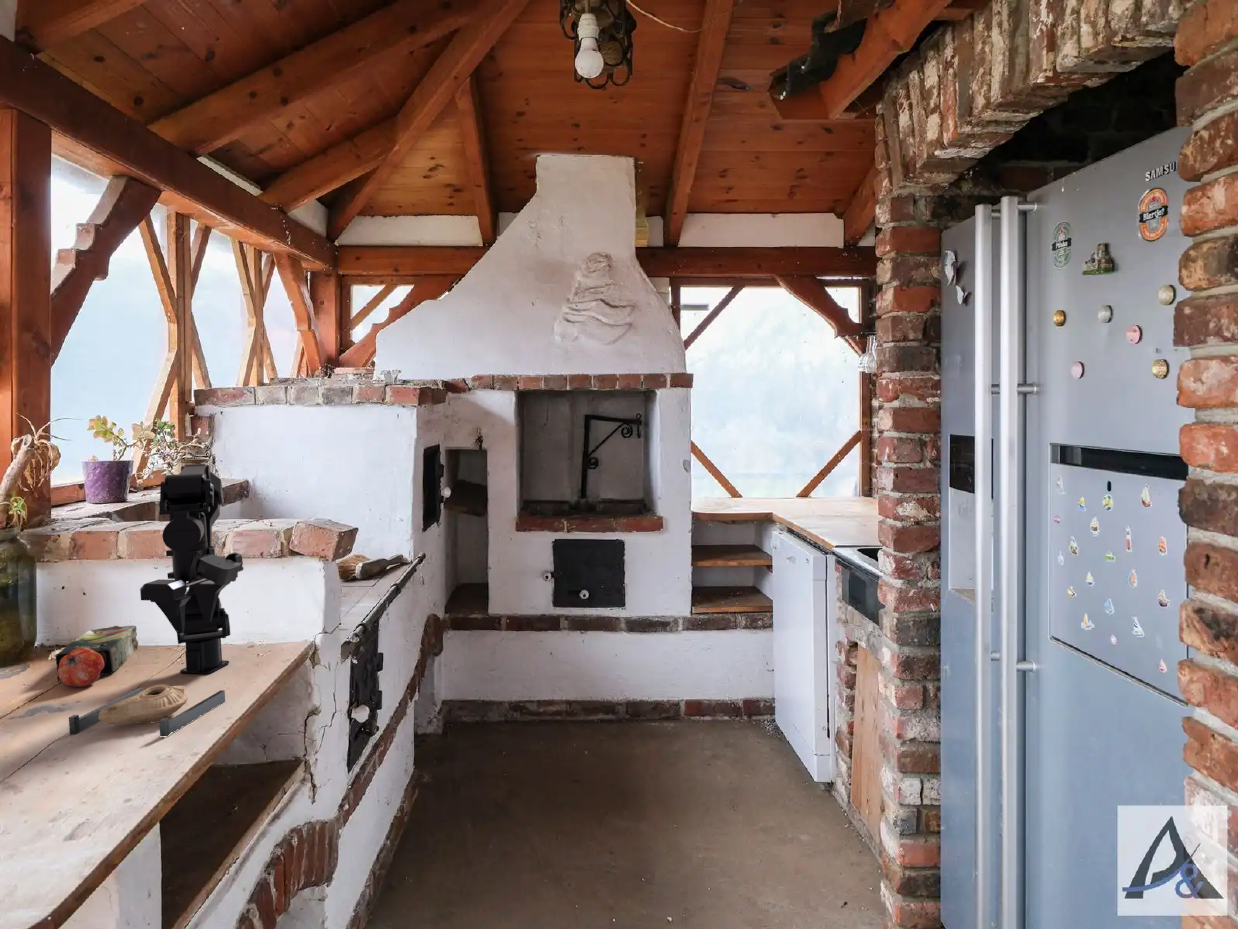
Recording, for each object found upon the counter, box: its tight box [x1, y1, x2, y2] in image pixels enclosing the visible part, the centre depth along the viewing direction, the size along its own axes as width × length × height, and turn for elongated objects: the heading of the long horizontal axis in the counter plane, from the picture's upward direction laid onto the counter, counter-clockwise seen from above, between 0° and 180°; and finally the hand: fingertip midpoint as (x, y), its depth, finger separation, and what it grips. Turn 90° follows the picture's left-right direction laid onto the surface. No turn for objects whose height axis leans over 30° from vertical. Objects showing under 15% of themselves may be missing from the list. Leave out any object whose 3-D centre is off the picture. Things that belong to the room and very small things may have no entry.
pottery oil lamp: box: [98, 684, 189, 725], centre depth 127 cm, size 9×12×7 cm
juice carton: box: [55, 624, 139, 683], centre depth 157 cm, size 20×10×6 cm, turn 19°
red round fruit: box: [57, 647, 105, 688], centre depth 145 cm, size 7×7×10 cm
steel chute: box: [68, 687, 226, 737], centre depth 129 cm, size 15×17×3 cm
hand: (194, 627), depth 140 cm, fingers open, 7 cm apart
